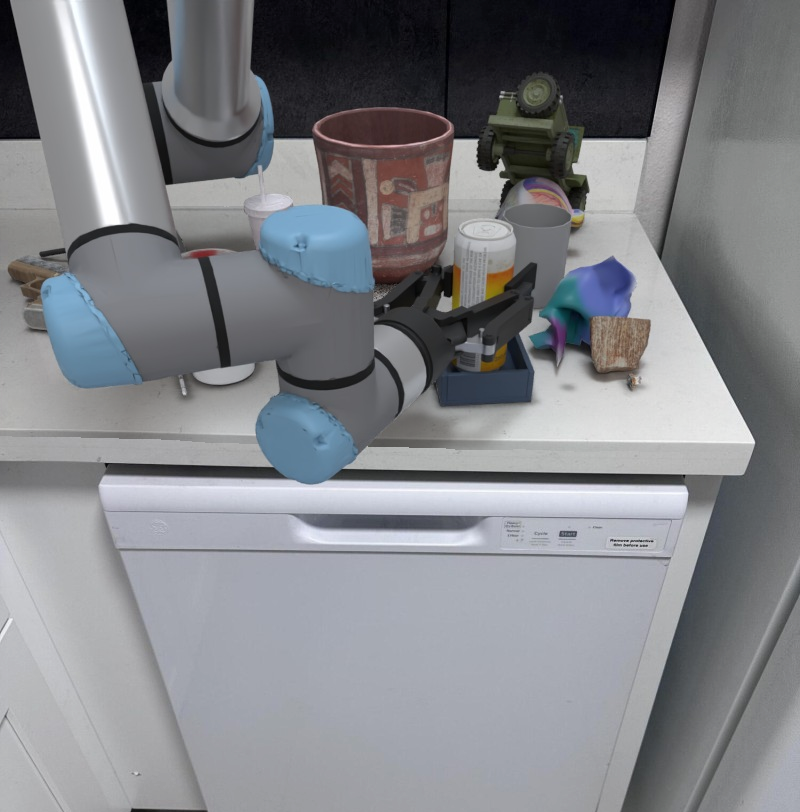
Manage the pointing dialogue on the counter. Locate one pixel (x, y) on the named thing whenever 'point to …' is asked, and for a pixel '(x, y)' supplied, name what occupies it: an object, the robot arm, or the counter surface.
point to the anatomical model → (540, 197)
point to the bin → (490, 381)
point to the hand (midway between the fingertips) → (503, 268)
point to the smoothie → (264, 207)
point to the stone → (618, 342)
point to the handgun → (34, 285)
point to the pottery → (389, 182)
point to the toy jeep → (534, 139)
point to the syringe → (182, 385)
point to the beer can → (481, 275)
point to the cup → (540, 244)
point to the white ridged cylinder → (228, 373)
